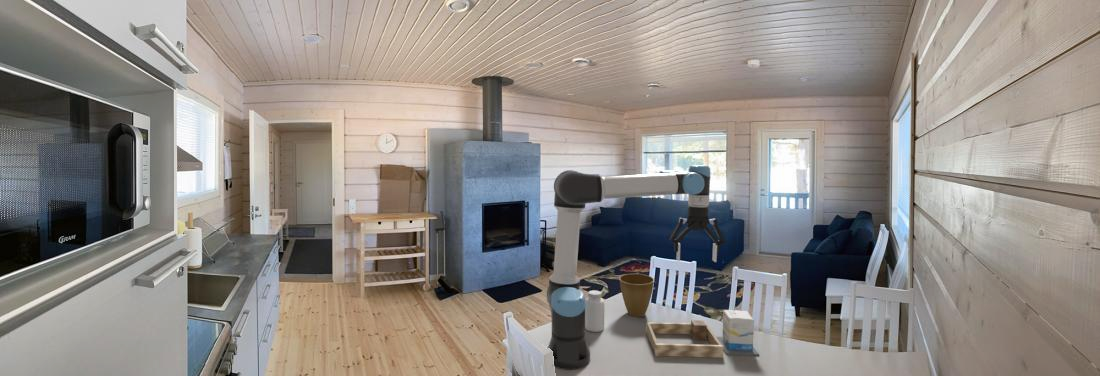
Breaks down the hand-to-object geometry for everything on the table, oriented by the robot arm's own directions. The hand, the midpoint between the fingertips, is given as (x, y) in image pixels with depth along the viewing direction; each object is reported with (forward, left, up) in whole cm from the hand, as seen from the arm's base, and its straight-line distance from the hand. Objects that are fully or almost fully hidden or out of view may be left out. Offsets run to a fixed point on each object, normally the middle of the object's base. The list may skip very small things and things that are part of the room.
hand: (696, 260), depth 157 cm
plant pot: (-20, +19, -30) cm, 41 cm away
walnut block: (+1, -3, -30) cm, 30 cm away
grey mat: (+12, -10, -29) cm, 33 cm away
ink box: (+13, -10, -29) cm, 33 cm away
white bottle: (-39, +3, -30) cm, 49 cm away
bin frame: (-7, -9, -29) cm, 31 cm away
